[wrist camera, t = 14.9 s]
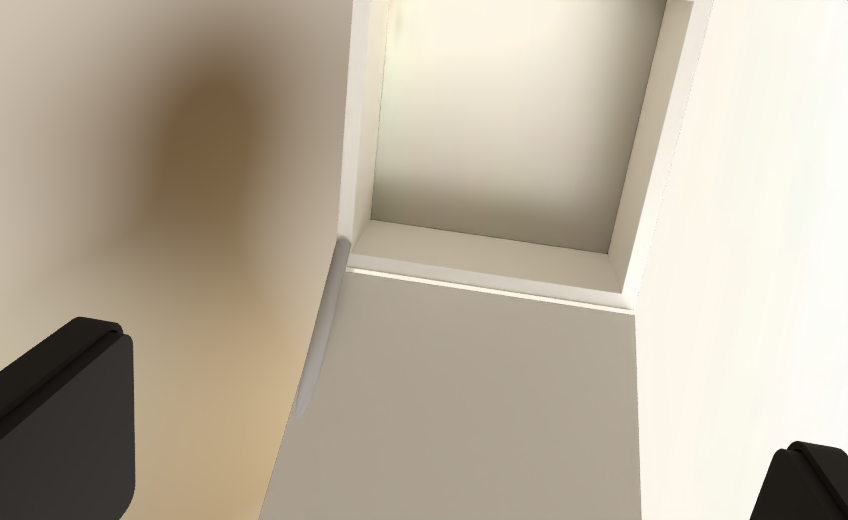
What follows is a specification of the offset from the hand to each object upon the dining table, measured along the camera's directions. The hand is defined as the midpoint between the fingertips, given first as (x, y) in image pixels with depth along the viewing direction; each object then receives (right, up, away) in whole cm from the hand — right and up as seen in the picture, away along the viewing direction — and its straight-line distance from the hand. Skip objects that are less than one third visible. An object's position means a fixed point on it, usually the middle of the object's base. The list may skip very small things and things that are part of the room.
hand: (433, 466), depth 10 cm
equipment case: (+4, +7, +29) cm, 31 cm away
